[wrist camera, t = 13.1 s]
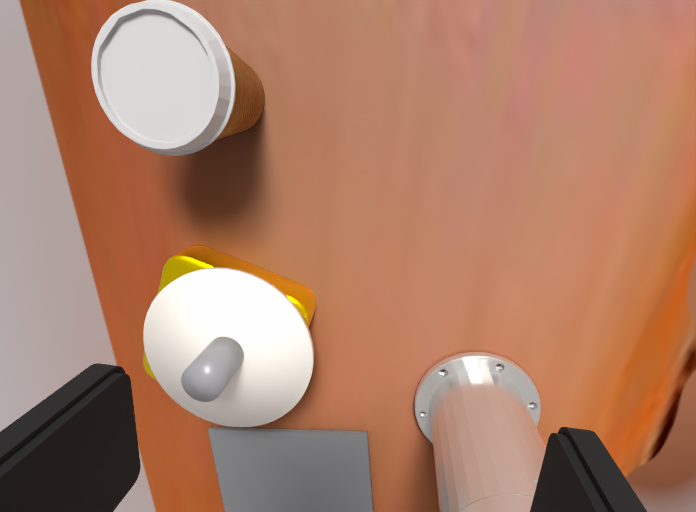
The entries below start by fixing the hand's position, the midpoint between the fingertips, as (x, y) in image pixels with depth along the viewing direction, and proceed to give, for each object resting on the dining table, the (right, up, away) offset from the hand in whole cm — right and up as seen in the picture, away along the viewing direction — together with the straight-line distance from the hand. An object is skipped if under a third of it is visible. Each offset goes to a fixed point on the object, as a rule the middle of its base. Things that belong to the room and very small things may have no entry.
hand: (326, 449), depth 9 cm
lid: (-11, -5, +30) cm, 33 cm away
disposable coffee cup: (-10, +19, +28) cm, 35 cm away
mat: (-6, -25, +40) cm, 48 cm away
